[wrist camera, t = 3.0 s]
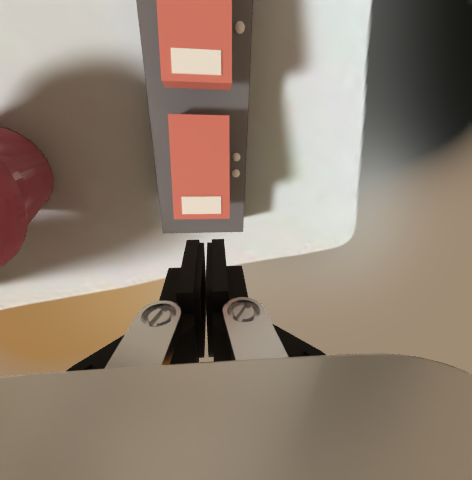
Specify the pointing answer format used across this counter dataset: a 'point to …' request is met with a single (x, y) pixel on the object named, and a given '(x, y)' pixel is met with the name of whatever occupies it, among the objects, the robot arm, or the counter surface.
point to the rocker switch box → (199, 104)
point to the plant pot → (20, 189)
